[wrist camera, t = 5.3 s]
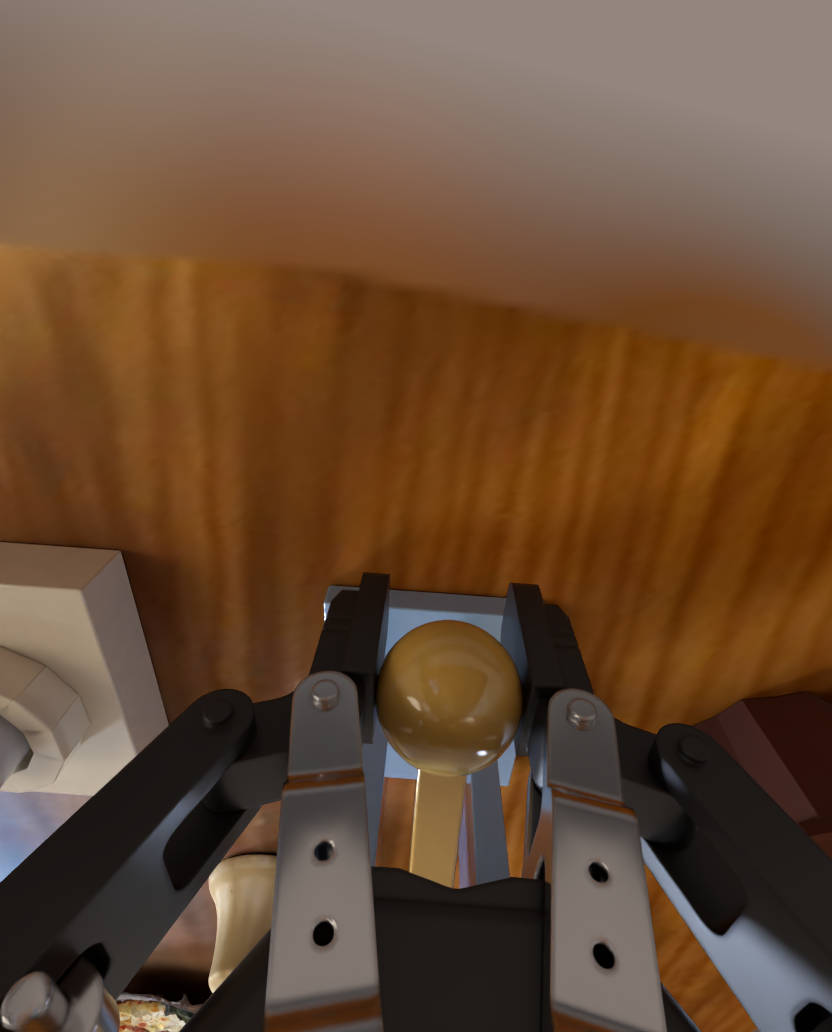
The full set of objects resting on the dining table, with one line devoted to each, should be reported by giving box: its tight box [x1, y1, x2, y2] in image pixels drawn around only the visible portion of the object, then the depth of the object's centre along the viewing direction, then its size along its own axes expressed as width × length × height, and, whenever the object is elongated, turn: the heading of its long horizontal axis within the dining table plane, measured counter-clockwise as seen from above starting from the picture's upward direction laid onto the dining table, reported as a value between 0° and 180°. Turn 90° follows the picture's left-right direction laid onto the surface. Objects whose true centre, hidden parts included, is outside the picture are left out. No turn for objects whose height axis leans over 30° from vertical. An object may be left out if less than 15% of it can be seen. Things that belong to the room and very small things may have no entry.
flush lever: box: [375, 620, 524, 888], centre depth 13 cm, size 13×3×3 cm, turn 177°
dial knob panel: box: [0, 542, 169, 796], centre depth 22 cm, size 13×10×4 cm
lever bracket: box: [324, 585, 545, 889], centre depth 18 cm, size 11×9×13 cm
